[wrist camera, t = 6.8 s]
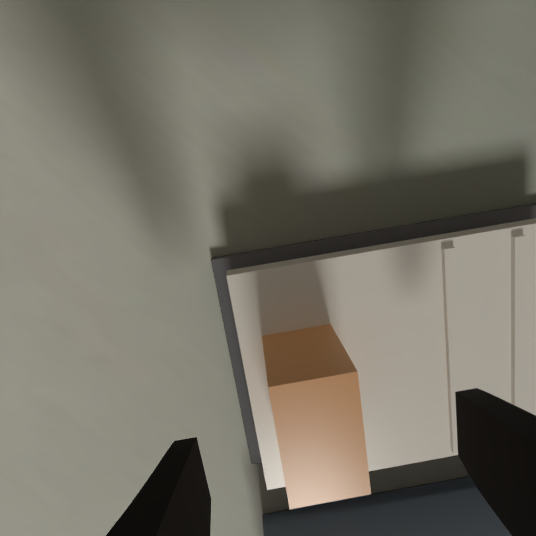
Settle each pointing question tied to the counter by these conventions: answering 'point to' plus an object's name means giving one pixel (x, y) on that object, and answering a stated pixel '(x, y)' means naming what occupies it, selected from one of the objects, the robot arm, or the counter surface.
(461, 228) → the board
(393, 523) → the tub
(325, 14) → the counter surface
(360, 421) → the lid
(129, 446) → the counter surface
